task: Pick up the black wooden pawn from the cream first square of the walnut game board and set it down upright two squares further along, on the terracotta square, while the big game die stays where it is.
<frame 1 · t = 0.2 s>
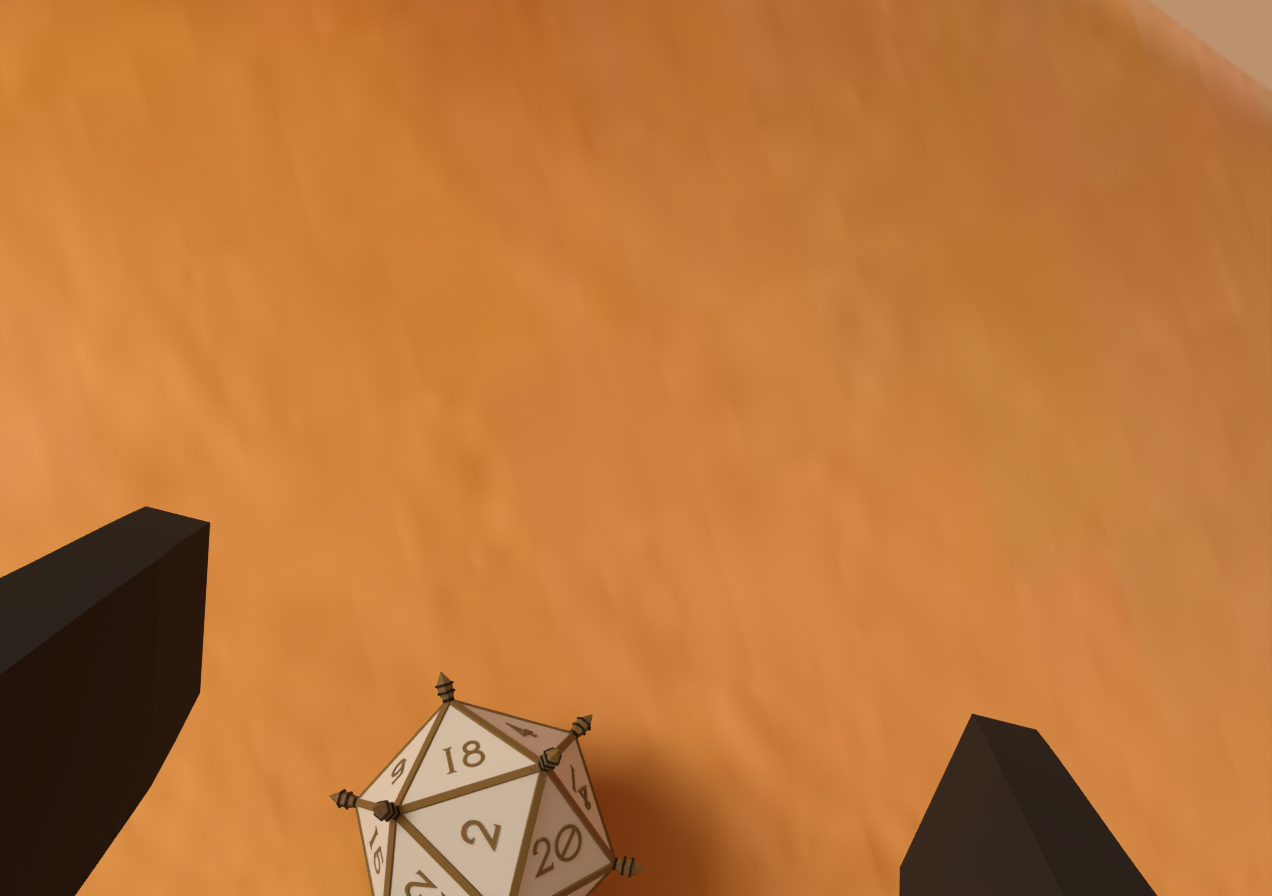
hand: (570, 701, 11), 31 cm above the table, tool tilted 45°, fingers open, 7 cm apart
game die: (485, 831, 40), on the table
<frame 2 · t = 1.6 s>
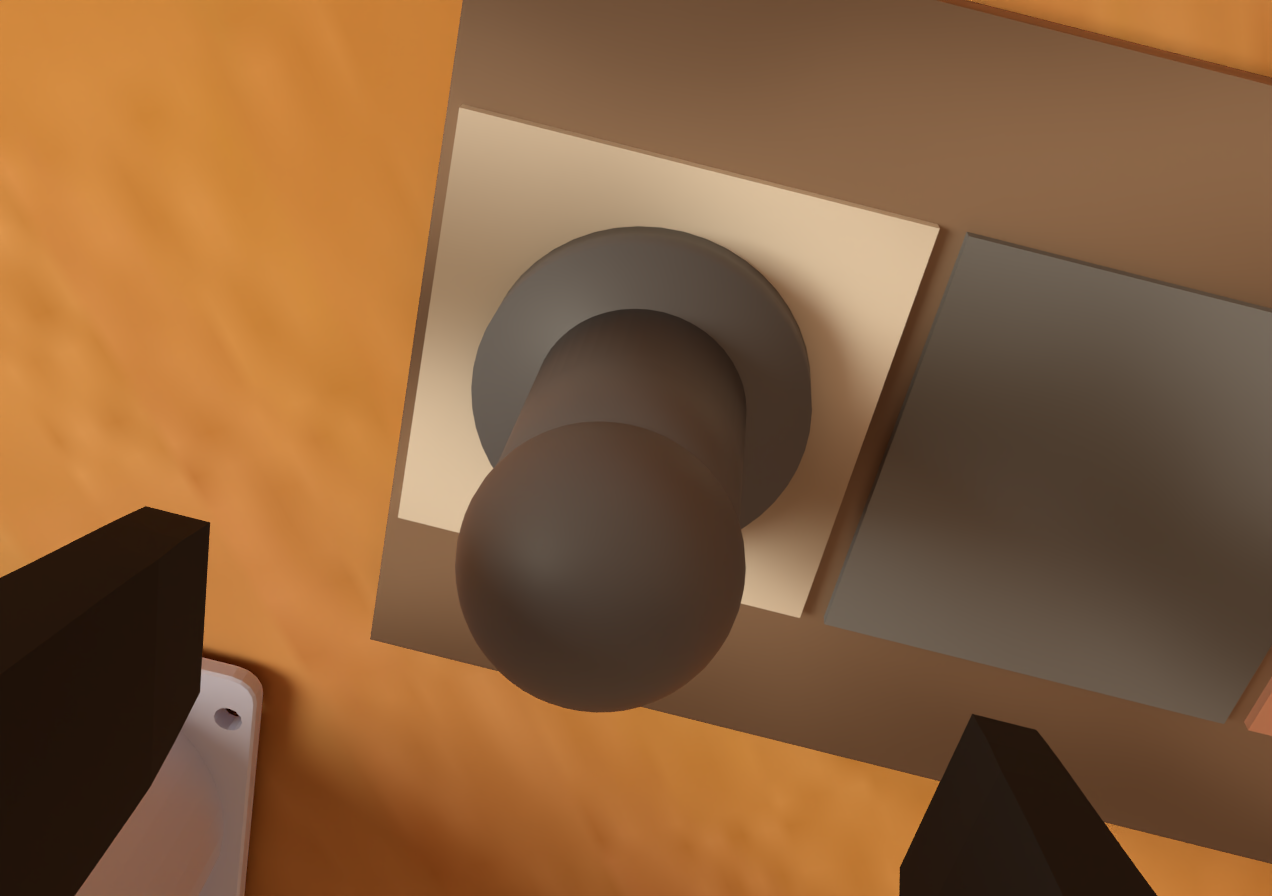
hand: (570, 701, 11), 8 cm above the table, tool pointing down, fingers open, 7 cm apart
pawn: (645, 385, 17), point 1 cm above the table, touching board
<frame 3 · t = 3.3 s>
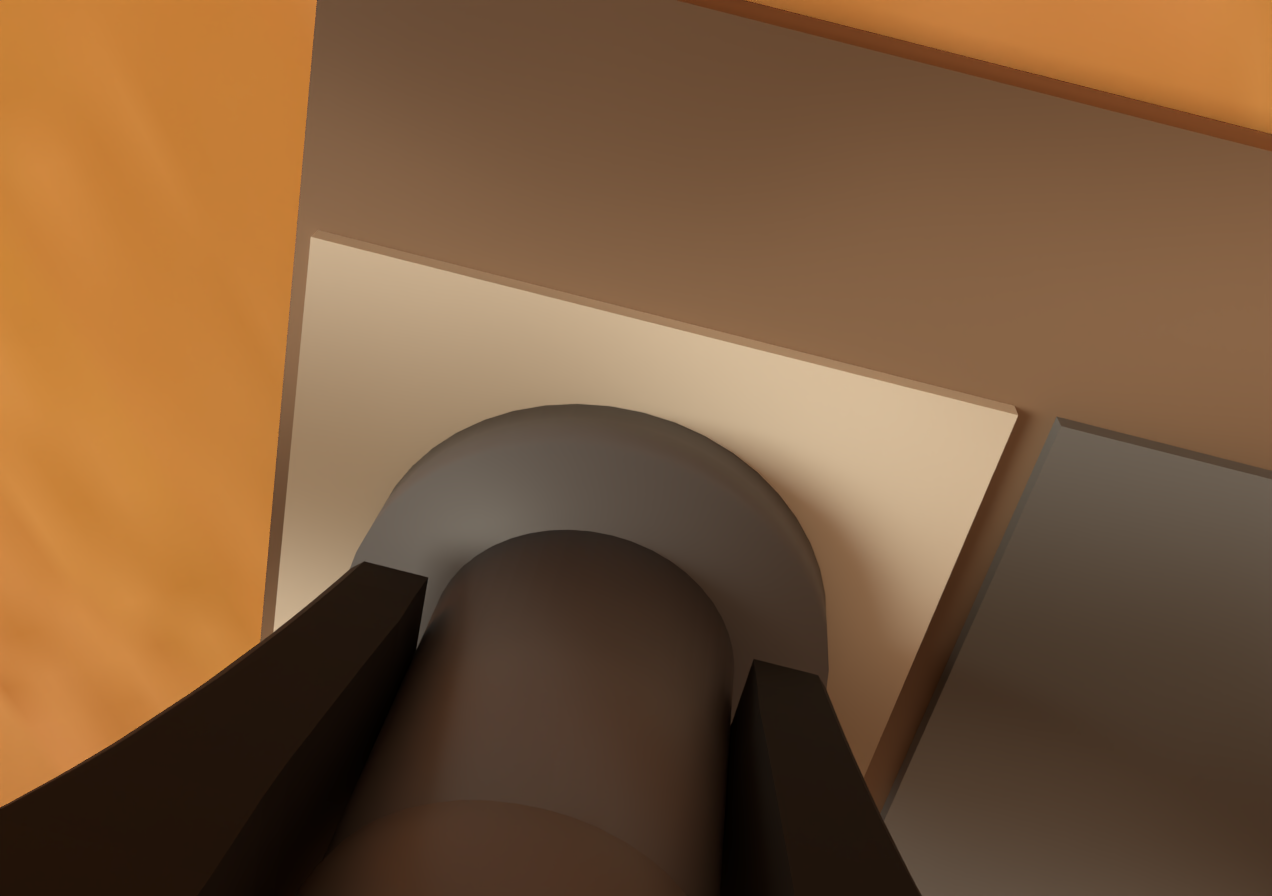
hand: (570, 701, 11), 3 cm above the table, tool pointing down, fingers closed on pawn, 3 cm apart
pawn: (591, 613, 12), point 1 cm above the table, touching board, gripper
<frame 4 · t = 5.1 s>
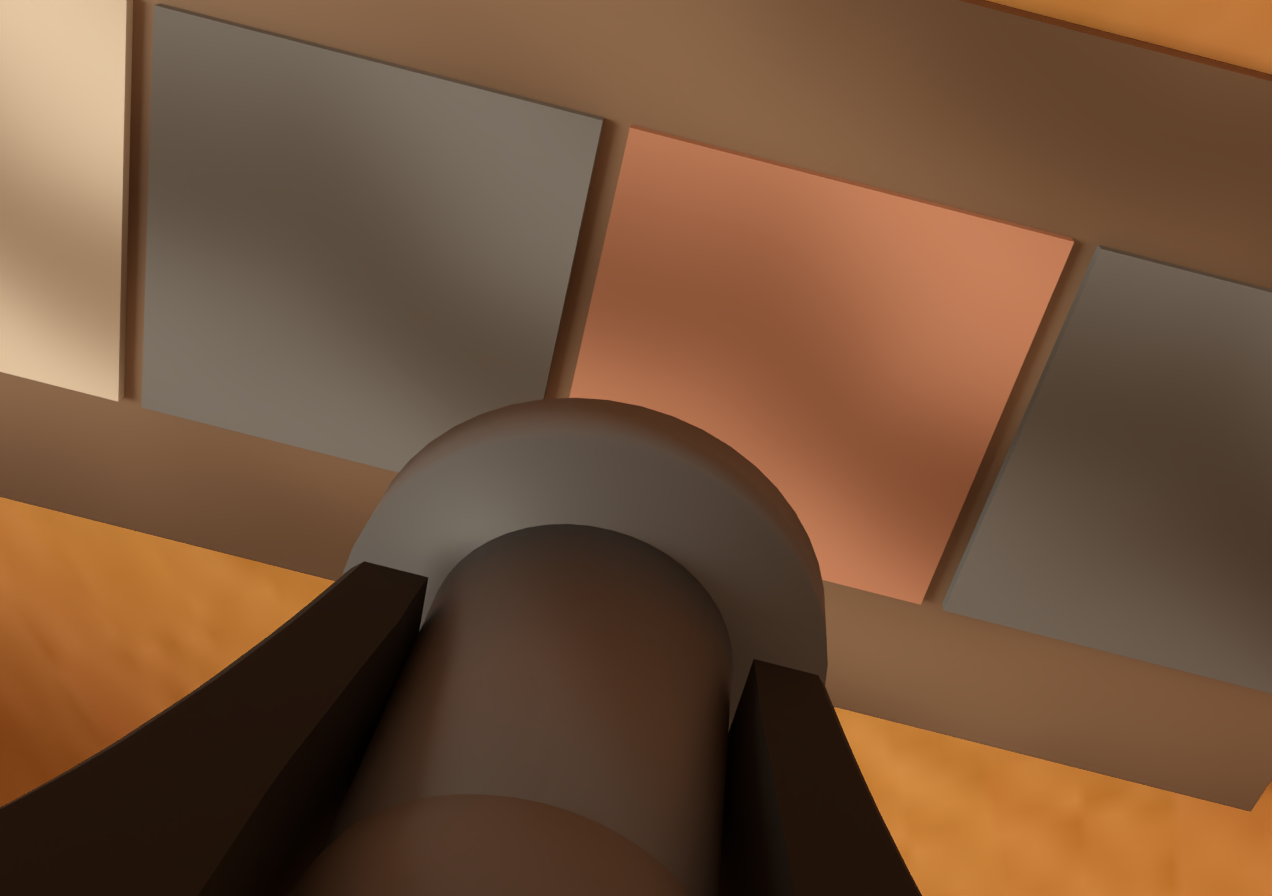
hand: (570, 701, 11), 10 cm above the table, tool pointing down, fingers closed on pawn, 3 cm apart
board: (582, 304, 20), on the table
pawn: (589, 608, 12), point 8 cm above the table, touching gripper
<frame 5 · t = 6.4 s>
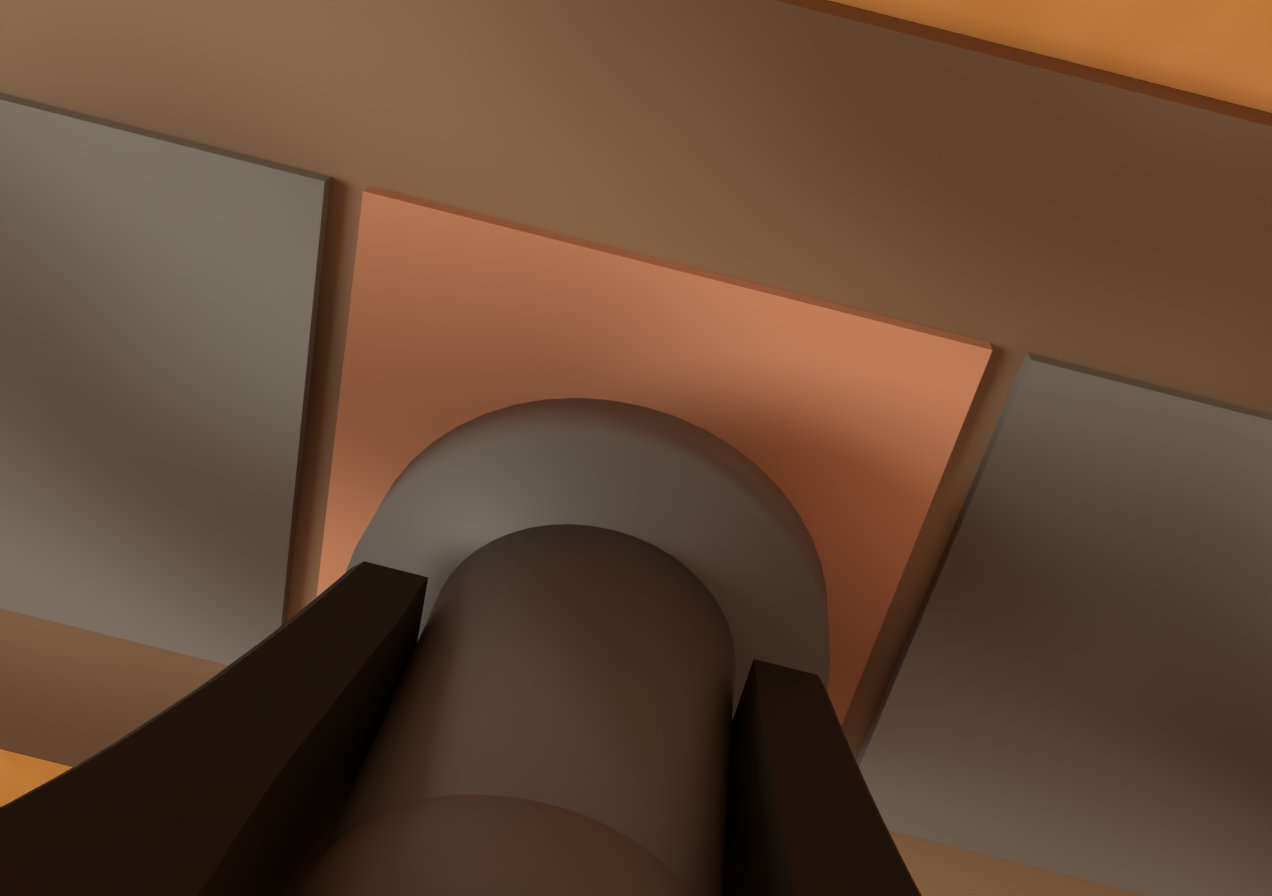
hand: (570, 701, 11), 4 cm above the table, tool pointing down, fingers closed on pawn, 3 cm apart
board: (348, 416, 15), on the table
pawn: (592, 608, 12), point 3 cm above the table, touching gripper
when the fingers open (4 cm above the table, at t = 7.1 s): pawn drops 2 cm, resting on board.
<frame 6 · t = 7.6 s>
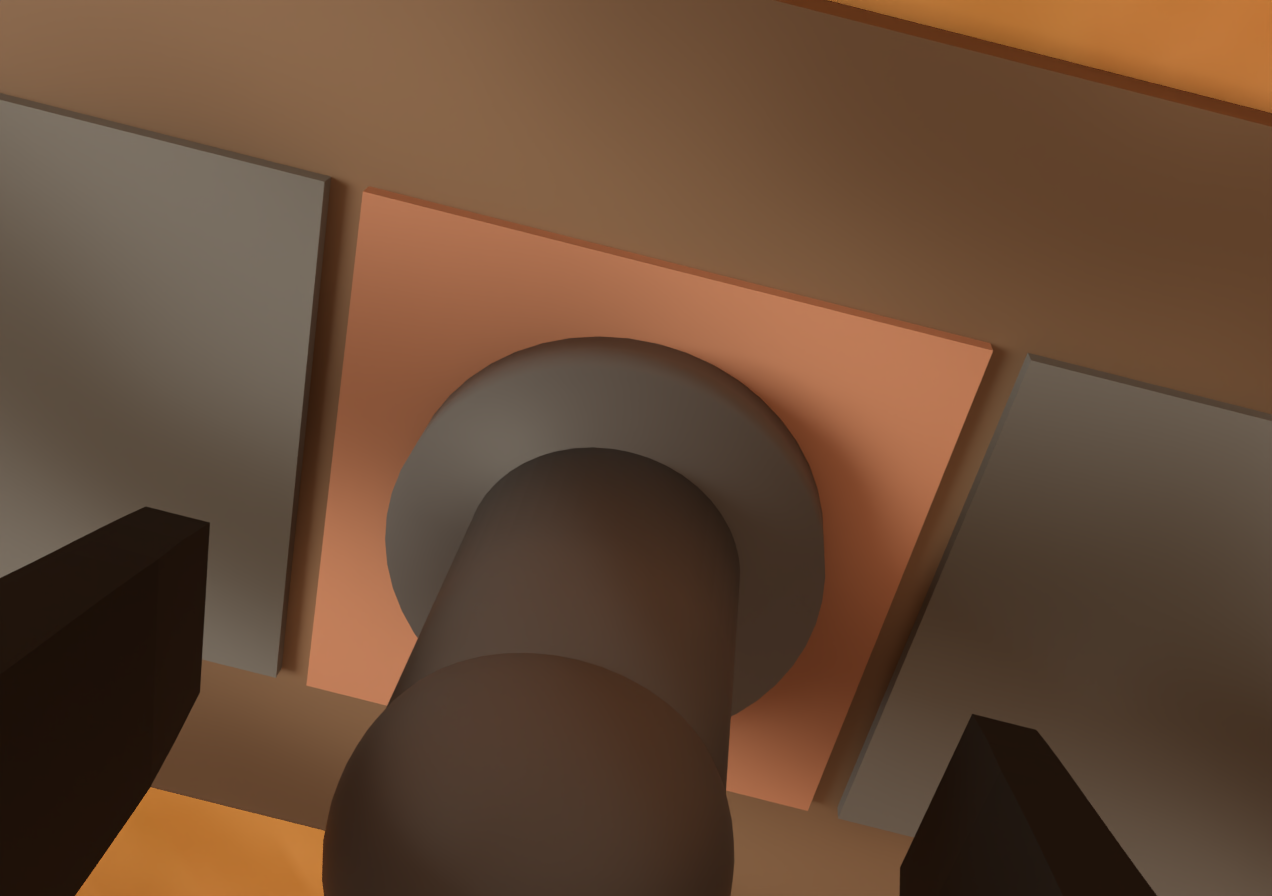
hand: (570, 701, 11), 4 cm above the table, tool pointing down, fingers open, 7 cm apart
board: (348, 416, 15), on the table
pawn: (611, 531, 14), point 1 cm above the table, touching board
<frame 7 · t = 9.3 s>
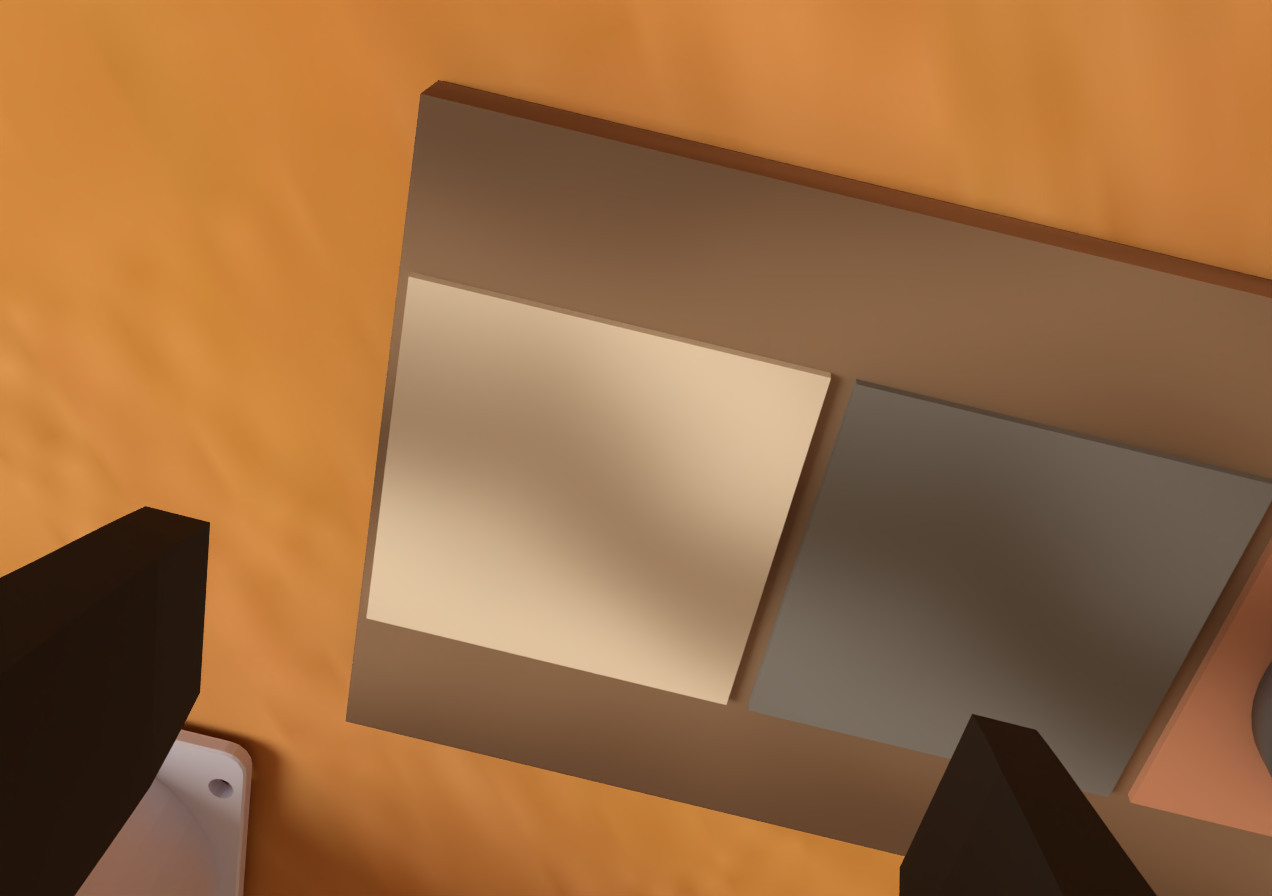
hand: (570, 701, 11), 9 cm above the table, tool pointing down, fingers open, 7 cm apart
board: (1178, 614, 21), on the table
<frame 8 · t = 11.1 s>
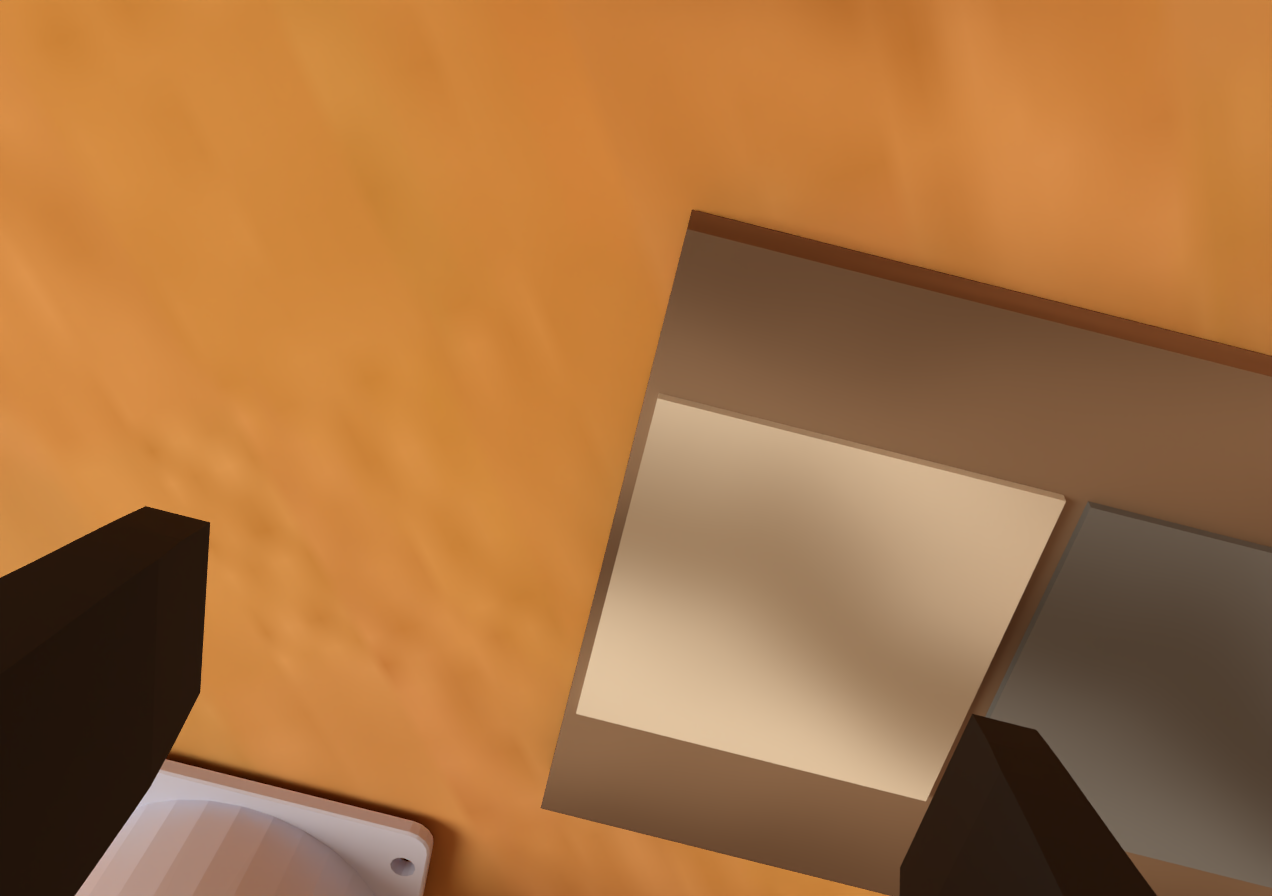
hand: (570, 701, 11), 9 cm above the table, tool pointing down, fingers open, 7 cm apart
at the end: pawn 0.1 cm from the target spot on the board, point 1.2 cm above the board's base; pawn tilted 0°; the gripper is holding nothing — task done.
